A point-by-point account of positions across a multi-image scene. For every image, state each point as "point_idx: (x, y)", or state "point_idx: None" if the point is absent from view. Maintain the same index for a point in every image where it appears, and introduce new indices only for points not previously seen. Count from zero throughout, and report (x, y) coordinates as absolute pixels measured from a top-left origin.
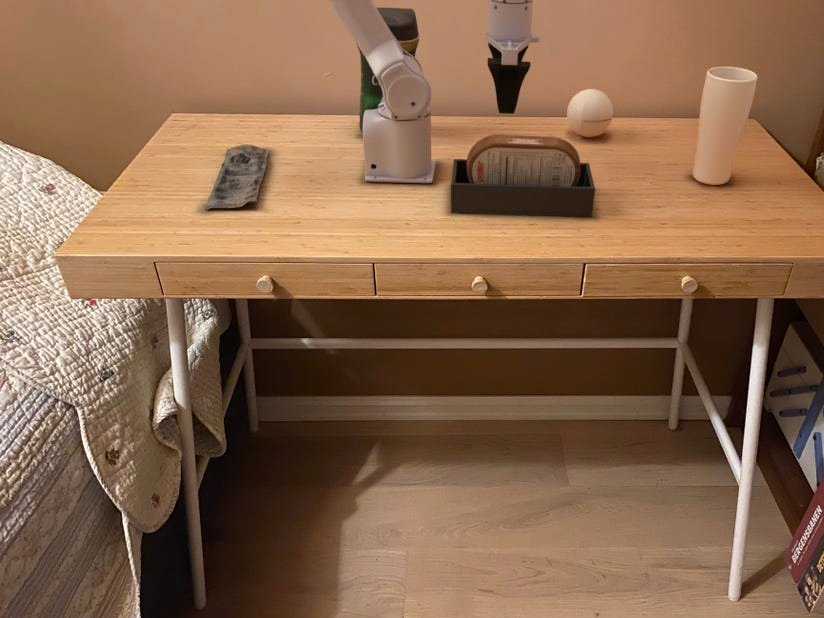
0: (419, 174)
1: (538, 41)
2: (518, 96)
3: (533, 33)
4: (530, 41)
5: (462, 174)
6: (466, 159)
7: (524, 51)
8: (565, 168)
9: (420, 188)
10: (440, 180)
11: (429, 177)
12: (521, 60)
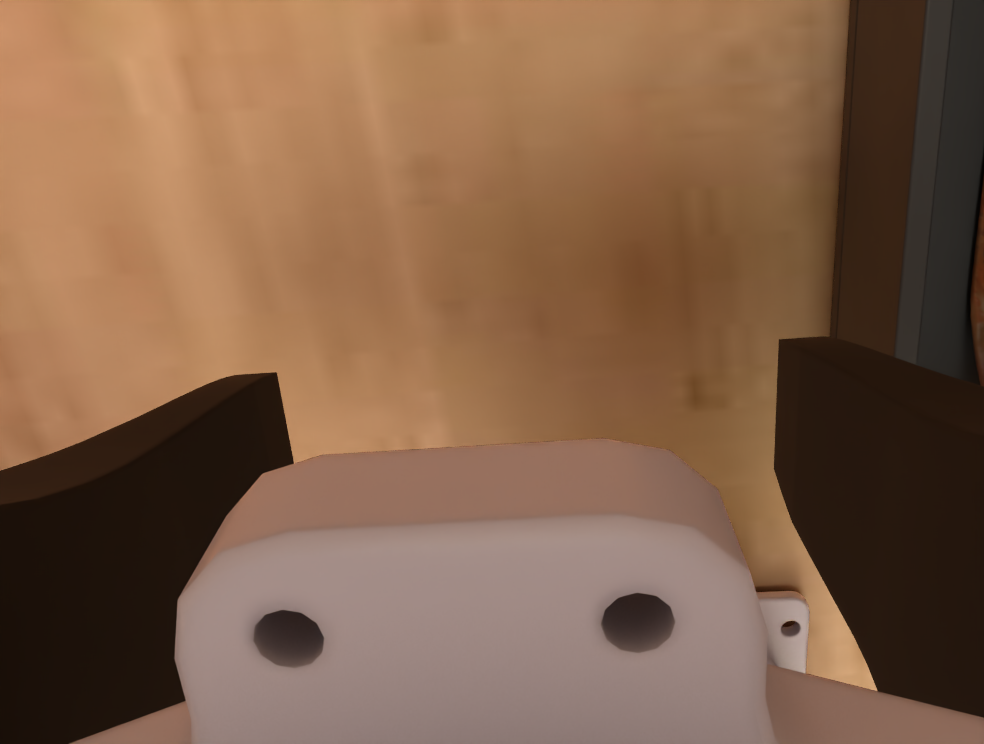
0: (770, 664)
1: (683, 467)
2: (931, 370)
3: (214, 723)
4: (794, 700)
5: None
6: None
7: (3, 527)
8: None
9: (846, 627)
10: (743, 554)
11: (769, 613)
12: (92, 486)
